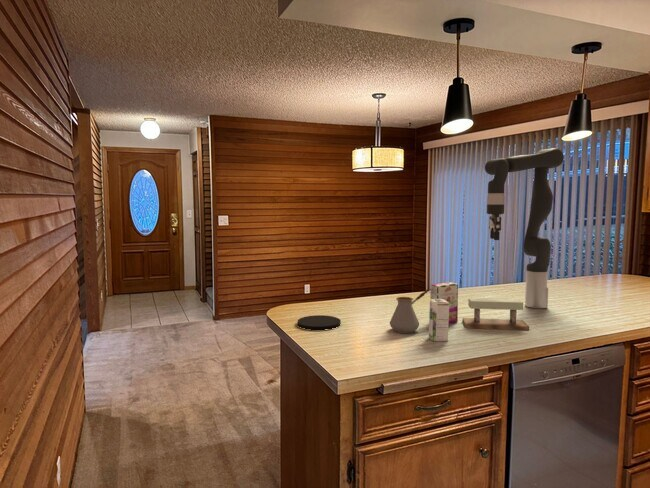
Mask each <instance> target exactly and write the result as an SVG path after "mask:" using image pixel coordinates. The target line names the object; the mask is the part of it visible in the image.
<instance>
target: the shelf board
mask: <svg viewBox="0 0 650 488" xmlns="http://www.w3.org/2000/svg"><path fill="white" fill-rule="evenodd" d="M467 303H468V307H469V309H471V310H472V309H473V310H474V309H480V310H482V309H483V310H508V311H510V310H517V311H524V301H522V300H521V299H518V298H480V297H479V298H478V297H471V298H470V297H468V302H467Z"/></svg>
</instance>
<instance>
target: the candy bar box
mask: <svg viewBox="0 0 650 488" xmlns="http://www.w3.org/2000/svg"><path fill="white" fill-rule="evenodd" d="M429 289H431V290H432V291H431V290H429V292H430V293H429V294H430V295H429V296H430V299H444V300H445V301H447V302H449V324H454V323H458V322H459V321H458V318H459V317H458V315H459V309H458V308H459V305H458V303H459V293H458V292H459V284H458V283H456V282H451V281H449V282H442V283H434V284H430V288H429ZM431 292H432V293H431ZM430 299H429V300H430Z"/></svg>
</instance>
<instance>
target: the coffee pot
mask: <svg viewBox="0 0 650 488" xmlns="http://www.w3.org/2000/svg"><path fill="white" fill-rule="evenodd" d="M430 290H431V289H430V288H427V289H425V290H424V291H423V292H421V293H420V294H419V295H418V296H417V297H416V298H415V299H414V298H412V297H411V296H410V297H409V296H398V297H396V301H397V305H396V308H394V309H395V310H394V311H393V314H392V317H391V319H390V321H389V326H390V328H391V329H392V330H393V331H395V332H396V333H399V334H411V333H415V331H416V330H417V329H418V328H419V326H420V322H419V319H418V317H417V314H416V313H415V310H414V308H413V307H414V306H413V304H415V303H416V302H417V301H419V300H420V299H421V298H422V297H424V296H425V295H426V294H427V293H429V294H430ZM431 291H432V290H431ZM431 293H432V292H431Z"/></svg>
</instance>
